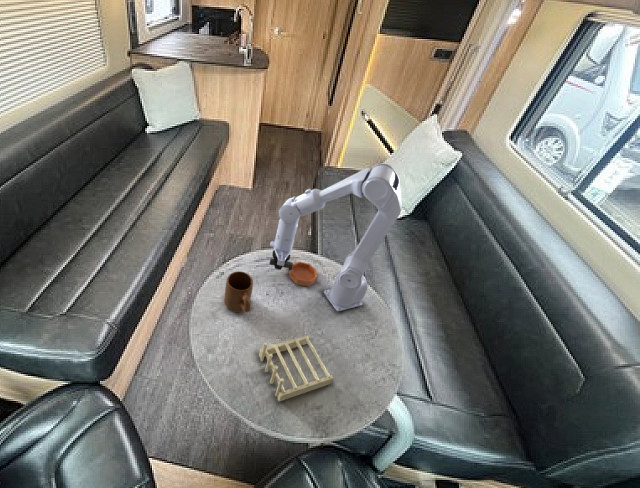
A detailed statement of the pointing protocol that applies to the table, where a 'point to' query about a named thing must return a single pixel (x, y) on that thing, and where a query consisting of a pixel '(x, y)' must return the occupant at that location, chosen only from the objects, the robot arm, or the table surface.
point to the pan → (300, 272)
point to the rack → (307, 386)
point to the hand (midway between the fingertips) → (278, 266)
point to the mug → (238, 292)
